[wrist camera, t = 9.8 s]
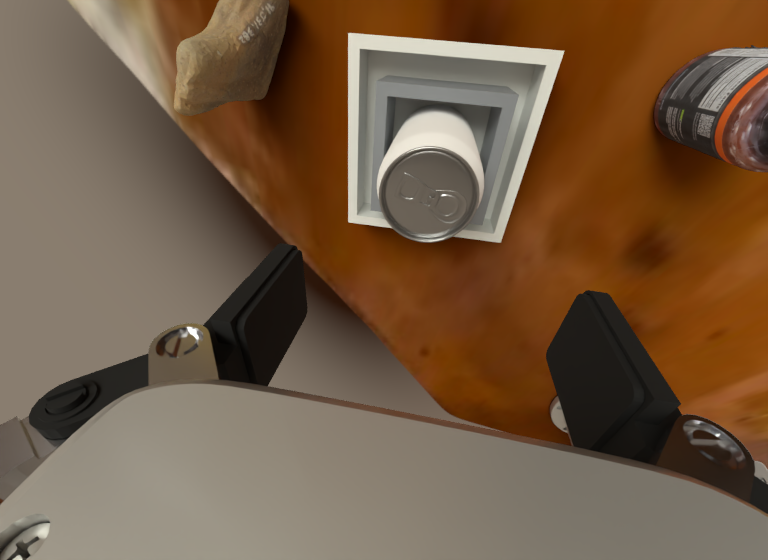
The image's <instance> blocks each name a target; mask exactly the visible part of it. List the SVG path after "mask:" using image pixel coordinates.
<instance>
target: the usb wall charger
mask: <svg viewBox="0 0 768 560" xmlns="http://www.w3.org/2000/svg"><path fill="white" fill-rule="evenodd" d="M754 463H755V474H754V475H755V476H756V477H758V478H759V479H760V480H762V481H763V482H765V483H766V484H768V469H767V468H766V467H765V466H764V464H762V463H761V462H759V461H754Z"/></svg>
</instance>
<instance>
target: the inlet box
mask: <svg viewBox="0 0 768 560" xmlns="http://www.w3.org/2000/svg"><path fill="white" fill-rule="evenodd" d="M563 54H564V51H559V50H547V49H535V48H523V47H511V46H499V45H487V44H475V43H463V42H451V41H439V40H427V39H415V38H403V37H391V36H380V35H368V34H356V33H348V222H350V223H358V224H365V225H373V226H380V227H387V228H392V227H391V226H390V225H389V224H388V222H387V221H386V219H385V218H384V216H383V213H382V211H381V208H380V203H379V198H378V194H377V178H378V173H379V169H380V166H381V164H382V161H383V159H384V157H385V155H386V153H387V151H388V150H389V148H390V146H391V144H392V142H393V140H394V139H395V137H396V135H397V133H398V132H399V130H400V128H401V127H402V125H403V123H404V122H405V121H406V119H407V118H408V117H409V116H410V115H411V114H412V113H414V112H415V111H416V110H418V109H420V108H422V107H425V106H428V105H433V104H441V105H446V106H450V107H452V108H454V109H456V110H457V111H459V112H460V113H461V114H462V115H463V116H464V117H465V118H466V120H467V121H468V123H469V125H470V127H471V129H472V132H473V135H474V139H475V142H476V145H477V149H478V152H479V156H480V159H481V163H482V167H483V172H484V191H483V196H482V199H481V202H480V204H479V206H478V208H477V210H476V212H475V214H474V216H473V218H472V220H471V221H470V222H469V224H468V225H467V226H466V227H465V228H464V229H463V230H462V231H460V232H459V233H458V234H456V235H455V236H454V237H461V238H468V239H476V240H483V241H491V242H498V243H501V240H502V237H503V234H504V231H505V228H506V225H507V222H508V219H509V216H510V213H511V210H512V207H513V204H514V201H515V198H516V195H517V192H518V189H519V186H520V183H521V180H522V177H523V174H524V171H525V168H526V165H527V162H528V159H529V156H530V153H531V150H532V147H533V144H534V141H535V138H536V135H537V132H538V129H539V126H540V123H541V120H542V117H543V114H544V111H545V108H546V105H547V102H548V99H549V96H550V93H551V90H552V87H553V84H554V81H555V78H556V75H557V72H558V69H559V66H560V63H561V60H562V57H563Z"/></svg>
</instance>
